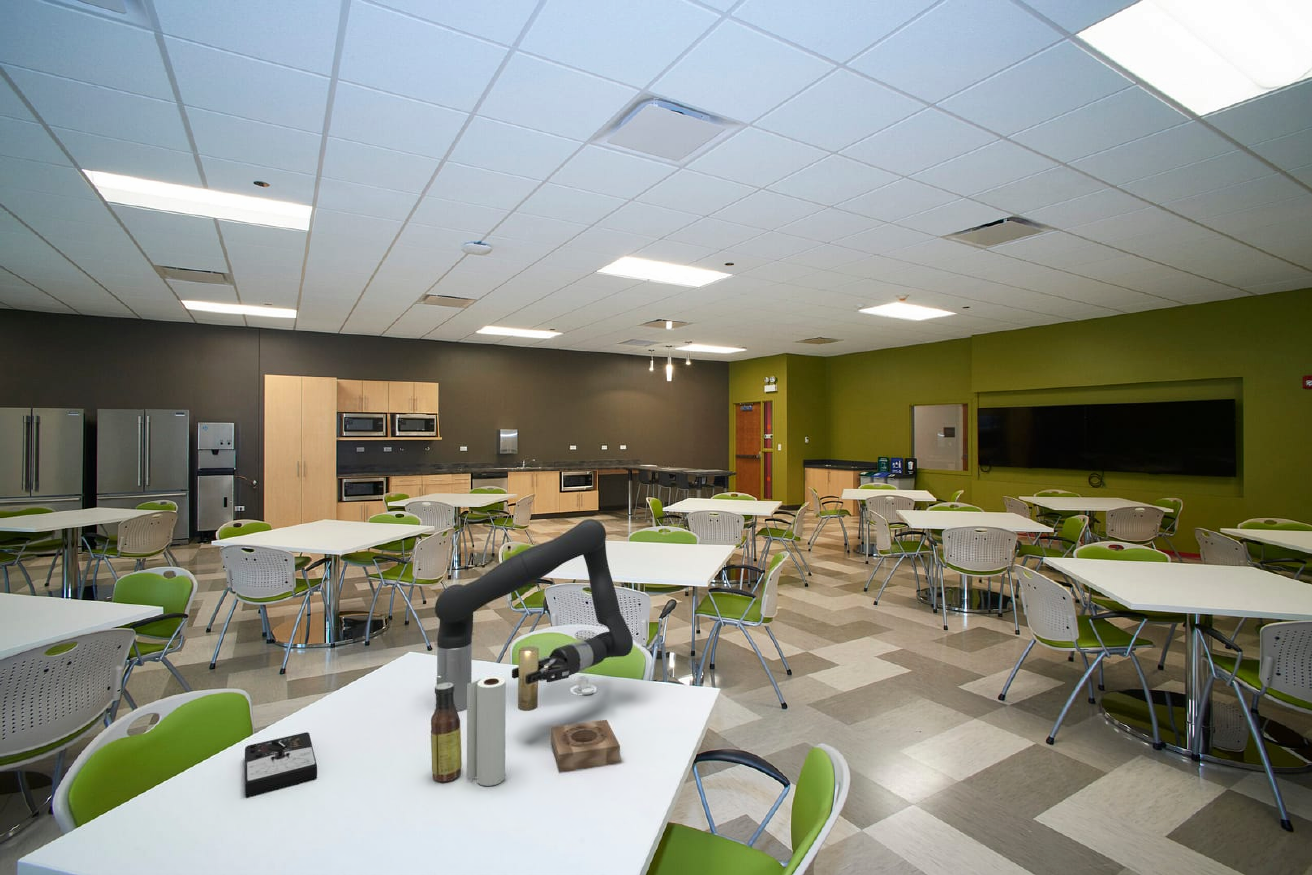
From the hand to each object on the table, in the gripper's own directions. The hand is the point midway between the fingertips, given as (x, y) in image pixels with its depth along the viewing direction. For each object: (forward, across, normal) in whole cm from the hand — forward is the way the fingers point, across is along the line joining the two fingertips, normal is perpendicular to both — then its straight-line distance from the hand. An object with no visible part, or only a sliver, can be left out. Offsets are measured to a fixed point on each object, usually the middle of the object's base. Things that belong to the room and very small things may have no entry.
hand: (519, 676), depth 149 cm
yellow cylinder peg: (-3, 0, +8) cm, 8 cm away
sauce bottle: (+18, -2, +17) cm, 25 cm away
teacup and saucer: (-31, -13, +18) cm, 38 cm away
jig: (-8, +14, +17) cm, 23 cm away
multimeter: (+41, -33, +18) cm, 56 cm away
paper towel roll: (+13, +7, +17) cm, 22 cm away
